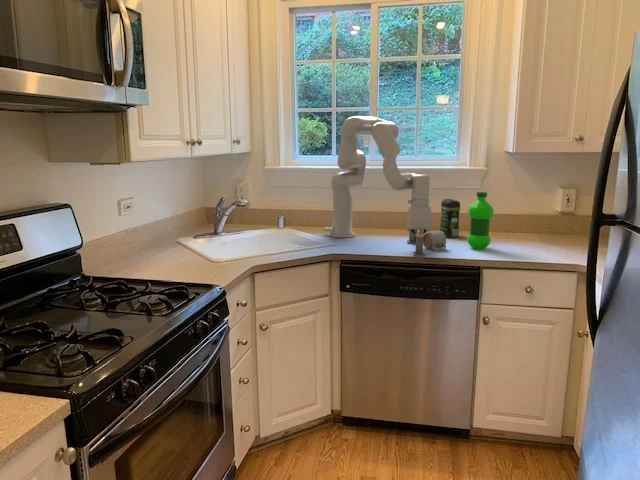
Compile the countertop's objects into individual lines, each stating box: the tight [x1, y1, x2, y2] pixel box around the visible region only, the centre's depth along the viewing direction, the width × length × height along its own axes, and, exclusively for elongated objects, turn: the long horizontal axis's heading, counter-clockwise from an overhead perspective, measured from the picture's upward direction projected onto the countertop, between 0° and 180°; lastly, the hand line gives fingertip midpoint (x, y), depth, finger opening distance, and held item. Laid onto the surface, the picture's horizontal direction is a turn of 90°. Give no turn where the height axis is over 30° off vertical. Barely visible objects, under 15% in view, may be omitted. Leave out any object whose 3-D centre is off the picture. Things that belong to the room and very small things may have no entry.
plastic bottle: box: [466, 191, 494, 251], centre depth 219 cm, size 10×10×25 cm
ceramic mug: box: [423, 230, 447, 252], centre depth 219 cm, size 11×8×8 cm
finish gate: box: [406, 231, 426, 257], centre depth 220 cm, size 4×28×9 cm, turn 176°
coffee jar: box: [439, 198, 461, 239], centre depth 245 cm, size 10×8×19 cm
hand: (418, 243), depth 220 cm, fingers closed
